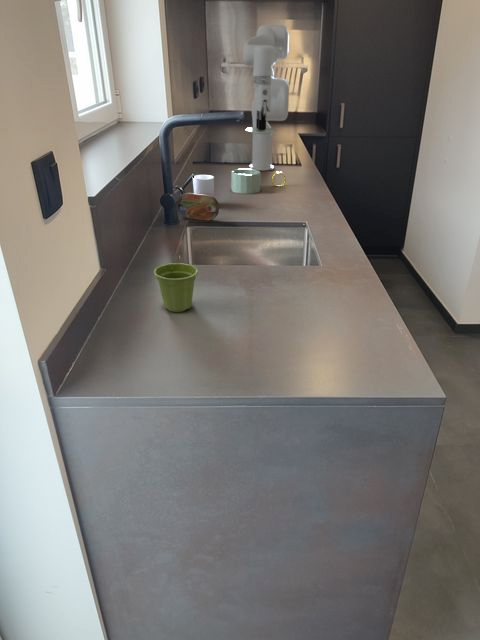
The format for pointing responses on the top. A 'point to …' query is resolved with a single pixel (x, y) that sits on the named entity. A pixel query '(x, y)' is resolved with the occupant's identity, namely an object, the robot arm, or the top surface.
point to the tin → (198, 206)
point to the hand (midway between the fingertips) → (261, 128)
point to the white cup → (203, 184)
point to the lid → (257, 131)
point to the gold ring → (279, 174)
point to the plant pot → (176, 285)
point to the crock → (245, 181)
